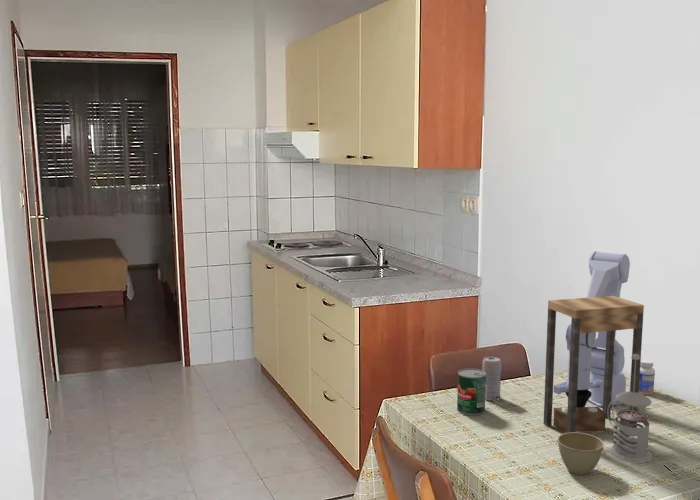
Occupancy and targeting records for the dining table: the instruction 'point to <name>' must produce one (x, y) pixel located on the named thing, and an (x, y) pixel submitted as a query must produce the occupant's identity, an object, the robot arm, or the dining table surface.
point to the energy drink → (492, 377)
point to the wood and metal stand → (588, 319)
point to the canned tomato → (471, 391)
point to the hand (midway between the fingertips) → (577, 415)
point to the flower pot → (580, 451)
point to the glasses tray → (581, 419)
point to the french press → (628, 446)
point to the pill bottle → (646, 377)
